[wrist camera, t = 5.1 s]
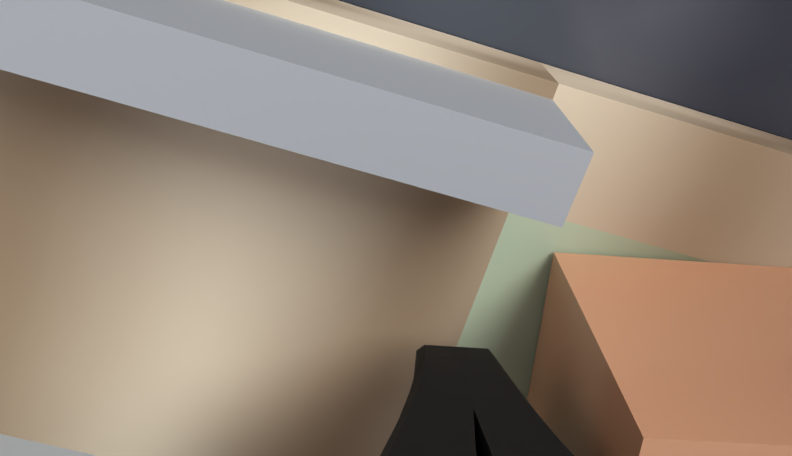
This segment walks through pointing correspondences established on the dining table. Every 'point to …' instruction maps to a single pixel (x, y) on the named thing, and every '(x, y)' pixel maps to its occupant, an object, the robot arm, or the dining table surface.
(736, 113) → the dining table surface
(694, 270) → the terracotta block
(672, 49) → the dining table surface
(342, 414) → the birch deck
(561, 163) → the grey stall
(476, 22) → the dining table surface
